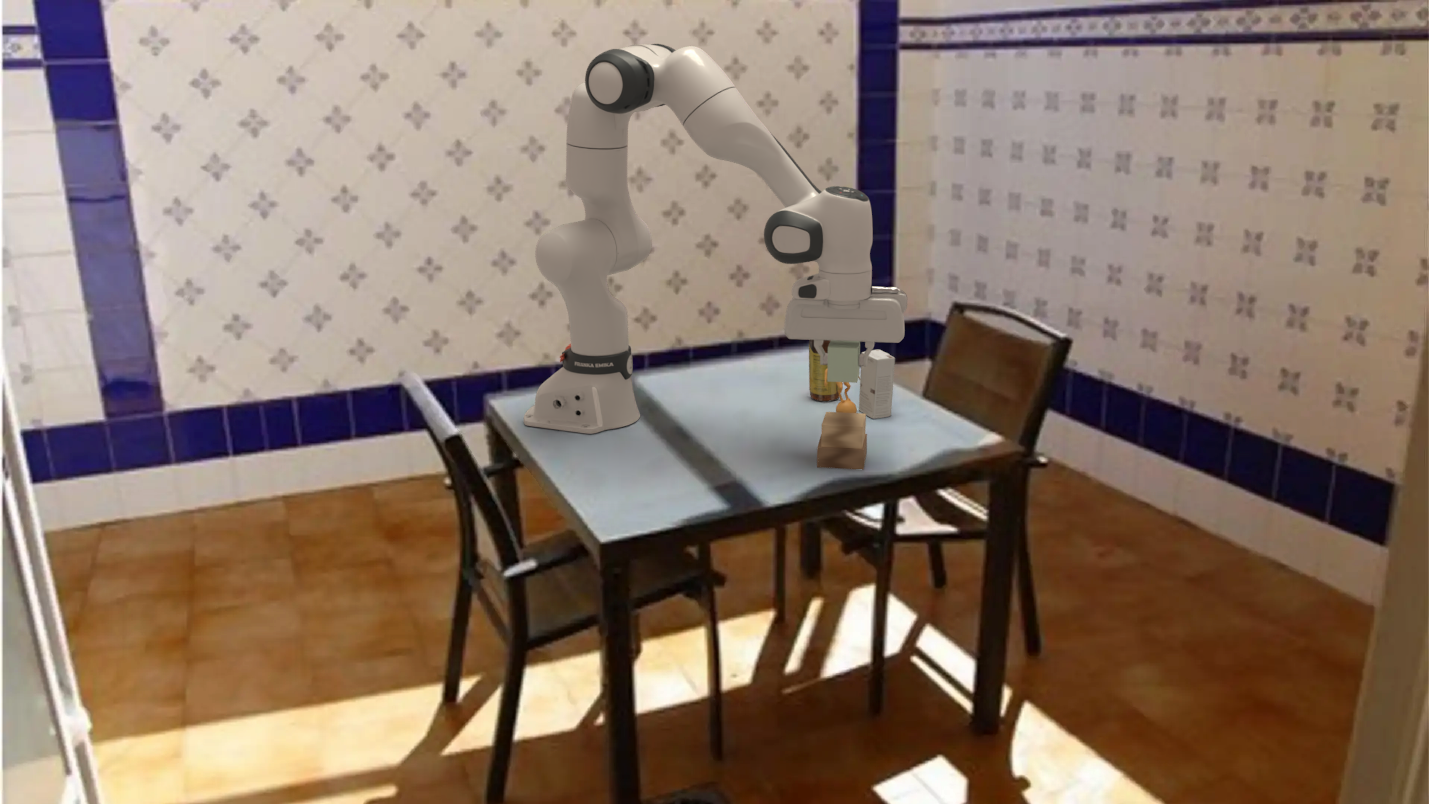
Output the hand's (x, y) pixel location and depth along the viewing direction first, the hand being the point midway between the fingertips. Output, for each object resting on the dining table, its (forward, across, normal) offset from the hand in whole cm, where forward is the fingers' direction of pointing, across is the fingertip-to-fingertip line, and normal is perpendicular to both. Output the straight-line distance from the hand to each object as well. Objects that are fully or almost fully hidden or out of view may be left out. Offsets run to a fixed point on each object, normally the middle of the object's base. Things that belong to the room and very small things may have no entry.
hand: (843, 365), depth 203 cm
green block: (+2, 0, 0) cm, 2 cm away
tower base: (+18, 0, 0) cm, 18 cm away
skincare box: (+18, -4, -26) cm, 32 cm away
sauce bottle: (+18, +7, -34) cm, 39 cm away
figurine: (+18, +2, -22) cm, 28 cm away
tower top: (+14, 0, 0) cm, 14 cm away
